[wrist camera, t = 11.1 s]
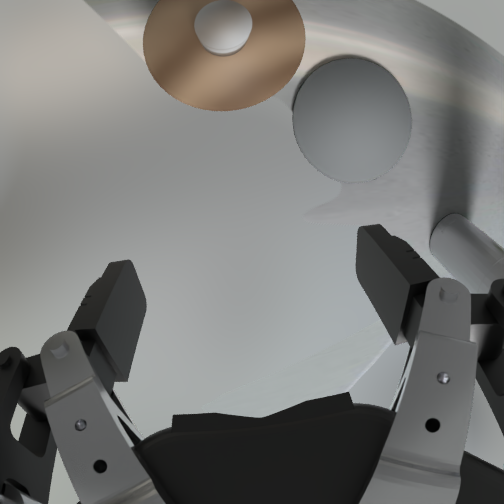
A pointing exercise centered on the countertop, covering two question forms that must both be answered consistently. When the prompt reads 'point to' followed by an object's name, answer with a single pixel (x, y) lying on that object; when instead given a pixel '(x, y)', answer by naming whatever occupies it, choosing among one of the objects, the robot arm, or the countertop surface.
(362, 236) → the robot arm
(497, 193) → the countertop surface
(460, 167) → the countertop surface
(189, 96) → the walnut lid
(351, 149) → the rubber mat
